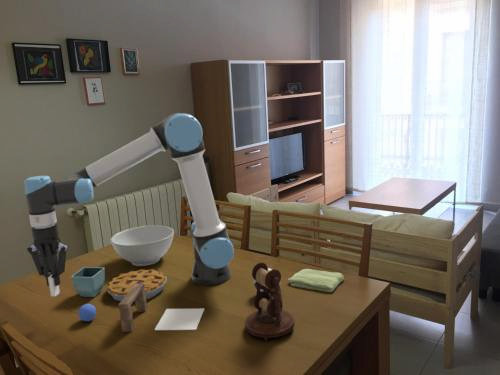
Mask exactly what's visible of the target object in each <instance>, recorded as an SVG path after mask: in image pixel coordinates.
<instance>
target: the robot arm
mask: <svg viewBox="0 0 500 375" xmlns="http://www.w3.org/2000/svg"><path fill="white" fill-rule="evenodd" d="M203 132H204V131H203V128H202V125H201V123H200V122H199V120H198V119H197V118H196V117H194V116H193V115H191V114H189V113H185V112H184V113H183V112H174V113H172V114H170V115H168V116H167V117H165V118H164V119H163V120H161V121H159V123H157V124H155V125H153V126H152V127H150V130H149V132H147V133H145V134H143V135H141V136H140V137H138V138H137V139H134V140H132V141H131V142H129V143H127V144H125V145H123V146H121V147H120V148H118V149H116V150H115V151H112V152H111V153H109V154H107V155H105V156H103V157H102V158H100V159H98V160H96V161H94V162H92V163H91V164H88V165H87V166H85V167H84V168H82V169H80V170H78V171H76V172H75V171H74V172H73V173H71V174H69V175H68V177H67V178H66V180H60V181H52V180H51V177H50V176H49V175H37V176H36V175H35V176H30V177H28V178H26V179H25V180H24V181H23V182H24V195H25V201H26V205H27V209H28V217H29V223H30V226H31V234H32V239H33V244H32V245H30V246H29V247H27V248H26V250H27V251H28V253H29V254H30V255H31V258H32V261H33V263H34V265H35V268H36V270H37V272H38V275H39V276H43V277H44V278H45V279H46V286H47V287H49V293H50V297H56V296H58V295H59V294H60V293H61V292H60V285H61V277H60V276H61V275H62V274H63V273H65V271H66V270H65V269H66V259H67V251H68V249H69V246H70V245H68V244H63V243H62V241H61V239H60V237H59V236H60V234H59V228H58V222H57V221H58V220H57V213H56V208H55V206H62V205H63V206H64V205H73V204H75V205H76V204H85V203H89V202H93V200H94V198H95V196H94V193H95V192H94V188H96V187H99V185H101V184H103V183H105V182H107V181H108V180H110V179H112V178H114V177H115V176H118V175H119V174H121V173H124V172H125V171H127V170H129V169H130V168H133V167H134V166H136V165H138V164H140V163H141V162H143V161H145V160H147V159H148V158H151V157H152V156H153V155H156V154H158V153H159V152H167V151H168V152H169V154H170V159H171V160H173V161H175V162H176V163H177V165H178V169H179V172H180V176H181V179H182V183H183V186H184V187H183V188H184V190H185V191H184V192H185V194H186V197H187V201H188V204H189V205H188V206H189V208H190V211H191V215H192V219H193V222H192V223H191V226H190V227H191V229H190V231H191V238H192V247H193V257H194V258H193V259H194V260H193V265H192V271H191V280H192V282H193V283H195V284H196V285H197V284H198V285H201V286H213V285H218V284H221V283H225V282H226V281H228V280H229V279H230V278H231V275H232V274H231V268H230V265H229V263H230V262H231V261H232V259H233V258H234V254H235V249H234V244H233V243H232V241H231V240H230V237H229V234H228V233H229V232H228V229H227V225H226V223H225V222H223V221H222V220H221V219H220V217H219V212H218V208H217V206H216V202H215V198H214V197H215V196H214V194H213V191H212V187H211V183H210V182H211V181H210V179H209V175H208V172H207V168H206V164H205V161H204V157H203V155H204V153H205V151H206V147H205V143H204V139H203V135H204V134H203ZM58 251H59V252H58Z"/></svg>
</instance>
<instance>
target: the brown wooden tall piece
mask: <svg viewBox="0 0 500 375" xmlns="http://www.w3.org/2000/svg"><path fill="white" fill-rule="evenodd" d="M268 268H269V267H268V265H267V264H266V263H265V262H258V263H256V264H255V265H254V266H253V268H252V271H251V276H252V278H253V279H254V280H256V282H255V284H254V283H253V286H254V285H255V286H254V288H255V290H256V289H257V290H256V295H255V296H254V298H253V306H254V307H255V308H256V309H257V310H256V311H253V312H252V313H250V314H249V315H248V316H247V317H246V318H245V320H244V328H245V330H246V331H247V333H249V334H250V335H252V336H255V337H258V338H263V340H264V342H267V341H268V339H271V338H279V337H281V336H284V335H287V334H288V333H290V332H291V331H293V330H294V326H295V318H294V317H293V315H292V314H291V313H290V312H287V311H286V310H283V307H284V306H283V305H284V304H283V298H282V297H283V296H282V289H281V285H280V284H279V283H280V281H282V280H281V279H282V274H281V271H280V270H278V269H276V268H273V269H272V270H270V271H268ZM253 279H252V280H253ZM260 289H261V290H263V291H260ZM269 294H270V295H269Z"/></svg>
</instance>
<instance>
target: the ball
mask: <svg viewBox="0 0 500 375" xmlns="http://www.w3.org/2000/svg"><path fill="white" fill-rule="evenodd" d="M77 313H78V317H79V319H80V321H83V322H91V321H92V320H94V318H95V317H96V316H97V309H96V306H94V305H93V304H91V303H86V304H83V305H82V306H80V308H79V309H78V312H77Z"/></svg>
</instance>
